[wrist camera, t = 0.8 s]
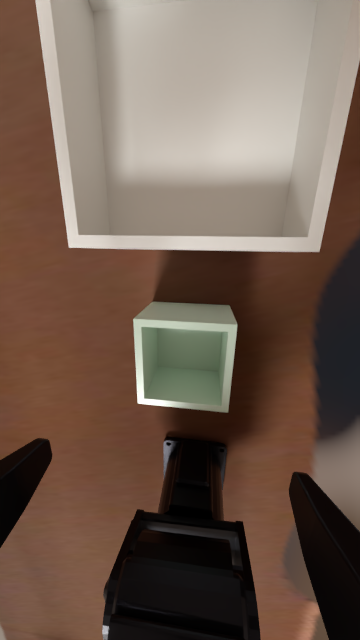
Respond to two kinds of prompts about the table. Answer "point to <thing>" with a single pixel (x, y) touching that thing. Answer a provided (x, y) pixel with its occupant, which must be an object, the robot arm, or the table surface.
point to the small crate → (185, 355)
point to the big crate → (198, 119)
